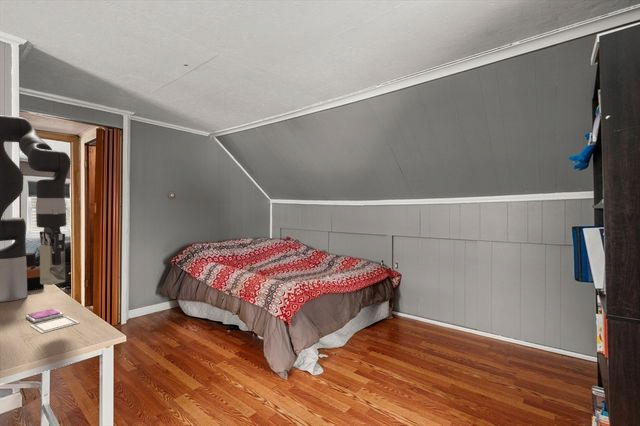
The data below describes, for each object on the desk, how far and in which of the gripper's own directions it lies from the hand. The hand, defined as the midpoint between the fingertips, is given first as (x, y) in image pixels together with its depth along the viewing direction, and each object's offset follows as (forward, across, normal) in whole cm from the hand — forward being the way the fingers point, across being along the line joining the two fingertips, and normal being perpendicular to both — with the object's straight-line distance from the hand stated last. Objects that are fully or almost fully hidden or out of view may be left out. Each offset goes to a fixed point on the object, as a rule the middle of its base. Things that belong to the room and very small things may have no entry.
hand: (53, 263), depth 106 cm
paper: (+20, 0, 0) cm, 20 cm away
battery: (+21, -57, +10) cm, 61 cm away
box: (+7, 0, 0) cm, 7 cm away
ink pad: (+20, -11, 0) cm, 23 cm away
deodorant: (+21, -65, +11) cm, 69 cm away
